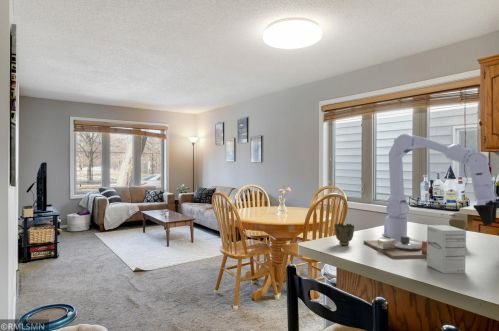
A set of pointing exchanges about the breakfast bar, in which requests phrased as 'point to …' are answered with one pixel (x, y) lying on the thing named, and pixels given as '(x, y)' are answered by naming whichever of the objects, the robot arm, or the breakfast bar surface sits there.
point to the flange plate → (398, 244)
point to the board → (401, 253)
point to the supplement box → (446, 248)
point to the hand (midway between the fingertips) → (489, 223)
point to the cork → (457, 223)
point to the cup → (344, 233)
